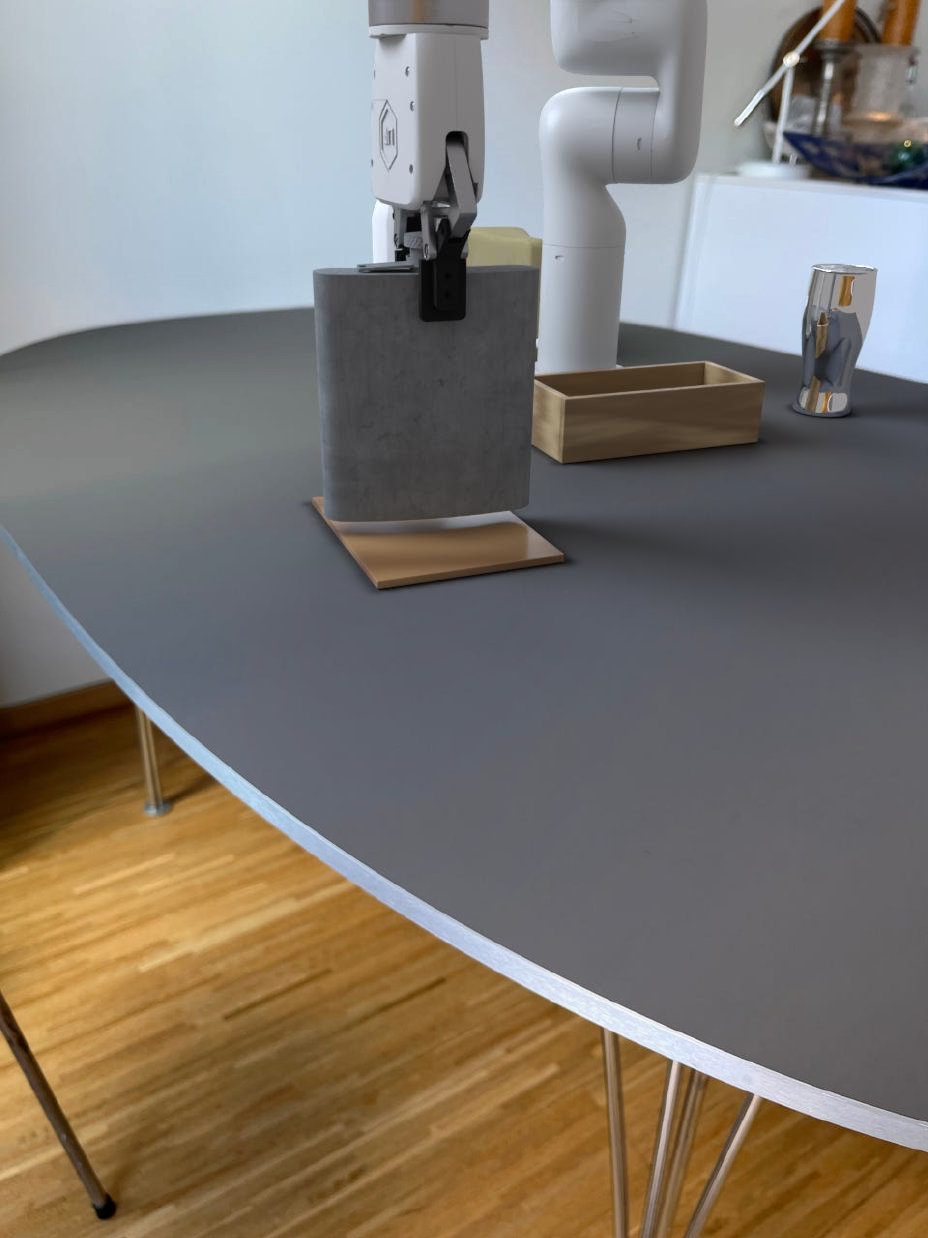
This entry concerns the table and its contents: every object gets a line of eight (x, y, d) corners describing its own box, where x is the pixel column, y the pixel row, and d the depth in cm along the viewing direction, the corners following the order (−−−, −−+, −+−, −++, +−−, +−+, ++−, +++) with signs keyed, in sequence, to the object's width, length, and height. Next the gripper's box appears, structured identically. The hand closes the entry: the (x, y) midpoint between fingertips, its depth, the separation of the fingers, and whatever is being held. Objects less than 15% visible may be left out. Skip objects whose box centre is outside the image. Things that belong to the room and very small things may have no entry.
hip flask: (522, 494, 82) (533, 226, 73) (537, 512, 78) (551, 233, 70) (321, 508, 78) (308, 229, 70) (328, 527, 75) (315, 235, 66)
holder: (516, 435, 103) (518, 375, 101) (700, 416, 111) (707, 360, 108) (561, 464, 95) (565, 399, 92) (757, 441, 102) (766, 381, 100)
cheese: (569, 363, 134) (576, 240, 127) (497, 366, 132) (500, 241, 125) (520, 331, 153) (523, 223, 146) (456, 333, 151) (457, 224, 144)
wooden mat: (312, 504, 84) (311, 497, 84) (470, 485, 89) (470, 478, 89) (377, 589, 69) (377, 581, 69) (564, 562, 74) (564, 554, 74)
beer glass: (858, 420, 110) (885, 273, 103) (790, 416, 111) (812, 270, 105) (849, 404, 116) (874, 264, 109) (785, 400, 117) (806, 262, 111)
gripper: (334, 18, 70) (345, 298, 78) (416, -3, 56) (418, 340, 64) (438, 23, 72) (438, 293, 80) (541, 3, 58) (528, 333, 66)
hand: (429, 311), depth 72 cm, fingers closed on hip flask, 4 cm apart
